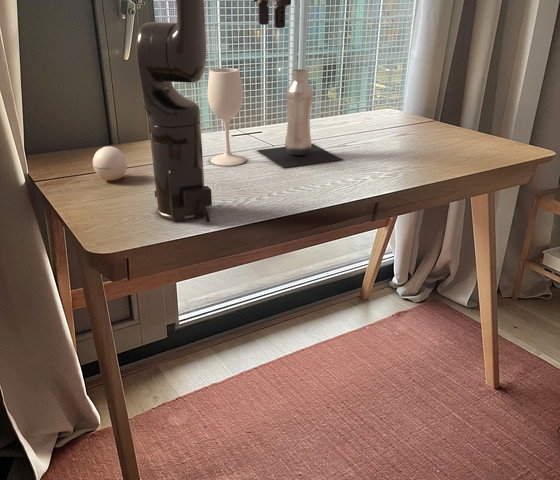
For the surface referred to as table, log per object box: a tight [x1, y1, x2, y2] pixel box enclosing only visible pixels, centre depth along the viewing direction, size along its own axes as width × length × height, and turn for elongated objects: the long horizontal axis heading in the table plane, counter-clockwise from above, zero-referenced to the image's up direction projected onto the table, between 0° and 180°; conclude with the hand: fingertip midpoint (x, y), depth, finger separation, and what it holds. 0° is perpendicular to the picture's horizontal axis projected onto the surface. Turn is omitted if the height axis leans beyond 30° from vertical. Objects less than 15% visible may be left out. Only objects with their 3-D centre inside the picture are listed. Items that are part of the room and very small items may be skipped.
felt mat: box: [257, 142, 343, 169], centre depth 144 cm, size 16×16×1 cm
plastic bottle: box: [284, 68, 314, 155], centre depth 139 cm, size 6×7×20 cm
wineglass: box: [207, 67, 247, 167], centre depth 135 cm, size 9×9×21 cm
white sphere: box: [82, 145, 128, 182], centre depth 125 cm, size 10×7×7 cm
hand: (271, 26), depth 126 cm, fingers open, 8 cm apart
